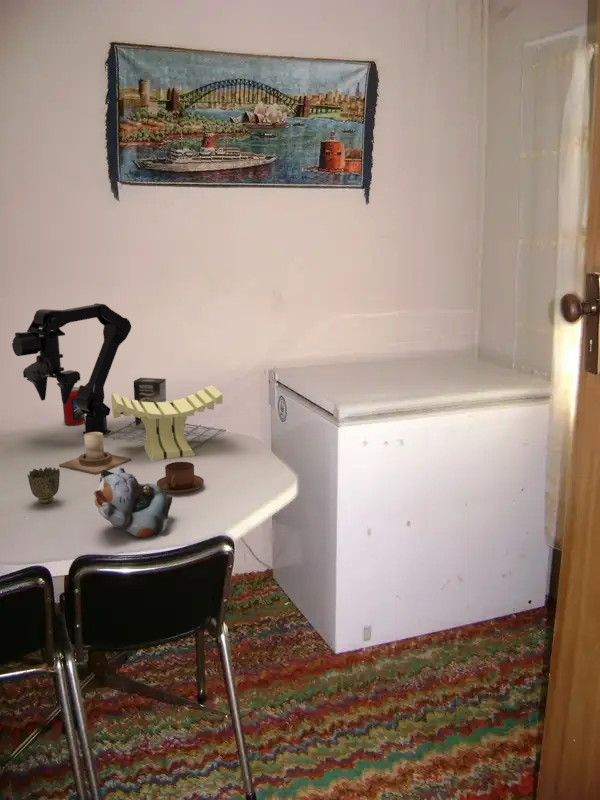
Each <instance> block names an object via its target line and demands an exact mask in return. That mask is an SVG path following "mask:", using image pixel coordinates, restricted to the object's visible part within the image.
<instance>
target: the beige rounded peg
mask: <svg viewBox="0 0 600 800" xmlns="http://www.w3.org/2000/svg"><path fill="white" fill-rule="evenodd" d="M103 436H104V434H103V433H101V432H90V433H86V434H84V435H83V437H84V451H85V453H86V459H87V460H98V459H103V458H104V452H105V450H104V449H105V448H104V437H103Z"/></svg>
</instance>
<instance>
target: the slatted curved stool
mask: <svg viewBox="0 0 600 800" xmlns="http://www.w3.org/2000/svg"><path fill="white" fill-rule="evenodd" d="M223 403H224V402H223V393H222V392H221V391H219V390H218V389H217V388H216V387H215V386H214V385H208V386H206V387H204V390H203V389H200V390H198V391H195V393H194V394H193V393H192V394H190V395H187V396H186V398H185V397H183V398H179V399H178V398H177V399H174V400H171V402H170V401H166V402H156V404H154V403H153V402H141V405H140V404H139V402H138V400H134V398H133V399H129V397H126V396H122V395H121V396H120V395H119V394H118V393H115V392H112V393H111V411H112V412H111V414H112V418H113V419H118V418H121V415H123V417H130V416H131V415H132V416H133V417H134V418H135V417H138V418H140V417H141V419H142V421H143V423H144V426H145V429H144V430H145V433H146V435H145V436H146V437H145V441H144V450H145V452H146V454H147V456H148V458H149V460H150V461H157V460H158V461H159V460H164V459H167V460H168V459H176V458H177V459H179V458H181V457H183V458H186V457H187V458H188V457H196V454H195V452H194V451H193V449H192V448H191V446H190V444H189V442H188V440H187V439H186V437H185V434H184V433H185V432H184V429H185V425H186V422H187V420H188V417H192V416H193V417H194V416H195V412H197V413H200V412H201V413H202V412H205V410H206V409H208V410H212V411H213V410H215V405H221V404H223ZM156 419H157V427H156Z"/></svg>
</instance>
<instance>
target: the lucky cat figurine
mask: <svg viewBox="0 0 600 800" xmlns="http://www.w3.org/2000/svg"><path fill="white" fill-rule="evenodd" d="M99 474H100V477H99V478H100V479H99V485H98V487H97V489H96V490H95V491H94V492H93V494H94V496H95V497H94V504H95V506H96V507H97V509H98V513H99V514H100V515H101V517H103V518H104V519H105V520H107V521H108V522H109V523H111V526H112V527H113V528H119V529H121V530H123V531H126V532H129V534H131V535H133V536H135V537H138V538H140V539H146V538H147V539H148V538H151V537H157V536H158V535H160V533H163V532H164V531H165V530H166V529H167V527H168V525H169V522H170V521H169V512H170V509H171V505H172V503H173V496H171V495H169V494H166V492H165V491H163V490H162V489H161V488H160V487H159V486H157V484H155V483H143V484H142V483H141V484H140V483H139V481H138V479H137V478H136V477H135V475H134V474H132V473H128V472H126V470H125V469H124V468H123V467H121V466H120V467H116V470H115V472H111V471H109V470H107V471H106V470H102V471H101V472H100V473H99Z"/></svg>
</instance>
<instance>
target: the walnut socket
mask: <svg viewBox="0 0 600 800" xmlns="http://www.w3.org/2000/svg"><path fill="white" fill-rule="evenodd" d="M131 461H132V458H131V457H126V456H121V455H120V456H119V455H116V454H112V453H110V452H108V451H104V458H103V459H98V460H87V459H86V452H85V453H82V454H81V455H79V456H78V457H76V458H73V459H71V460H68V461H67V460H66V461H65V462H63V463H59V465H58V466H59V467H60V468H65V469H69V470H74V471H77V472H83V473H88V474H90V475H91V474H92V475H95V476H96V475H98V474H101V473H100V472H101V471H102V470H106V471H109V470H112V469H114V468H118V466H121V465H123V464H124V465H125V464H126V463H129V462H131Z"/></svg>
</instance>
